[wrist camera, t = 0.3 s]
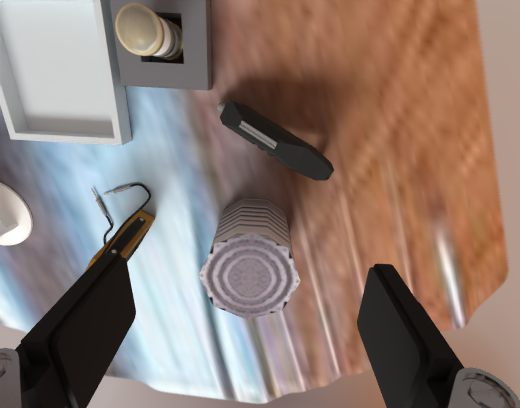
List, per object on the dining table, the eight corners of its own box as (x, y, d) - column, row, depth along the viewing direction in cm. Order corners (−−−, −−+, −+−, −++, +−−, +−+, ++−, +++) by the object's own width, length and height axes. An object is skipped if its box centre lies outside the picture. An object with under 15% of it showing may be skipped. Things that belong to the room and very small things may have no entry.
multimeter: (104, 160, 40) (-33, 232, 22) (167, 198, 42) (92, 292, 24) (69, 234, 45) (-65, 343, 27) (127, 265, 47) (40, 384, 29)
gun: (252, 103, 42) (212, 91, 33) (346, 161, 37) (331, 165, 28) (243, 121, 43) (203, 114, 34) (334, 180, 38) (316, 188, 29)
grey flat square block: (120, -13, 32) (106, -22, 29) (210, -8, 32) (205, -16, 29) (132, 84, 36) (121, 85, 33) (212, 89, 36) (207, 90, 33)
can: (207, 247, 45) (188, 301, 34) (230, 185, 41) (217, 225, 30) (273, 269, 47) (275, 328, 36) (302, 212, 42) (315, 259, 32)
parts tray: (-12, -9, 32) (-38, -18, 29) (113, -3, 32) (98, -10, 29) (29, 134, 38) (10, 139, 36) (132, 140, 38) (121, 145, 36)
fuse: (150, 20, 33) (111, 1, 25) (185, 22, 33) (158, 4, 25) (154, 59, 34) (119, 53, 26) (187, 61, 34) (162, 56, 26)
